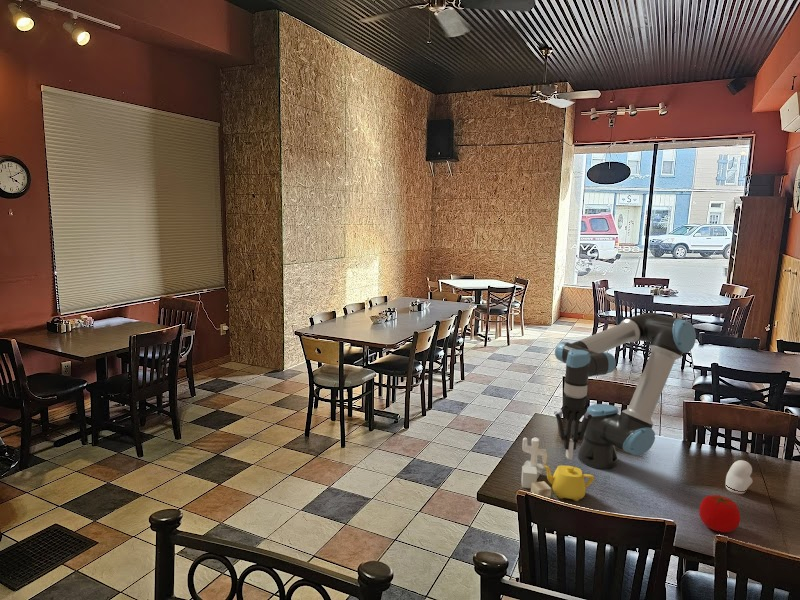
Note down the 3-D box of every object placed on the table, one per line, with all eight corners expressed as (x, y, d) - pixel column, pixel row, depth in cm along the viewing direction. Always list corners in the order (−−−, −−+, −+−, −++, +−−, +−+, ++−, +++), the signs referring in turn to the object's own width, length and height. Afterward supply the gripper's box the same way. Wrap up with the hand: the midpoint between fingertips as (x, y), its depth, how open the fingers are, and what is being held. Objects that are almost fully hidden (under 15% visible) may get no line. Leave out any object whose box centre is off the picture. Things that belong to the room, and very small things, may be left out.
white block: (534, 482, 198) (536, 467, 196) (535, 489, 193) (537, 474, 192) (521, 480, 198) (522, 465, 197) (521, 487, 194) (523, 472, 192)
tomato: (700, 533, 169) (705, 504, 167) (694, 513, 180) (698, 484, 178) (741, 542, 165) (746, 512, 163) (732, 520, 176) (737, 492, 174)
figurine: (543, 482, 197) (546, 445, 194) (518, 476, 201) (520, 439, 198) (547, 474, 203) (550, 438, 200) (523, 468, 207) (525, 432, 205)
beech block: (542, 493, 190) (544, 481, 189) (550, 501, 185) (551, 488, 184) (530, 495, 188) (531, 482, 187) (537, 503, 184) (538, 490, 183)
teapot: (540, 498, 187) (542, 470, 185) (540, 482, 197) (542, 456, 195) (593, 506, 182) (596, 478, 180) (590, 490, 193) (593, 463, 191)
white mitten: (741, 497, 190) (746, 466, 188) (720, 487, 197) (725, 457, 195) (752, 492, 194) (757, 462, 191) (731, 482, 200) (736, 453, 198)
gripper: (589, 391, 186) (583, 452, 191) (553, 390, 186) (547, 452, 191) (597, 399, 179) (591, 463, 183) (559, 398, 179) (553, 462, 183)
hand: (568, 457), depth 187 cm, fingers closed
